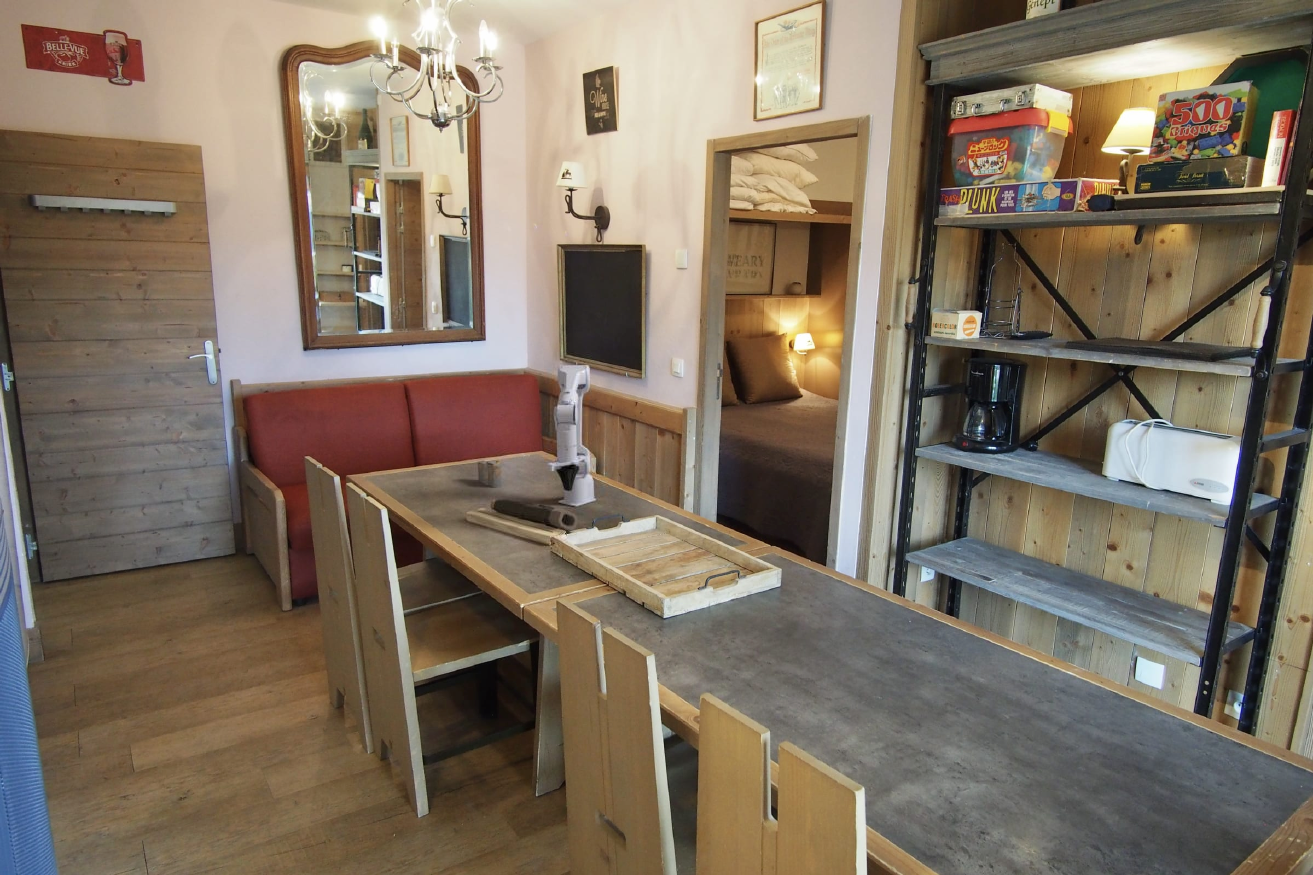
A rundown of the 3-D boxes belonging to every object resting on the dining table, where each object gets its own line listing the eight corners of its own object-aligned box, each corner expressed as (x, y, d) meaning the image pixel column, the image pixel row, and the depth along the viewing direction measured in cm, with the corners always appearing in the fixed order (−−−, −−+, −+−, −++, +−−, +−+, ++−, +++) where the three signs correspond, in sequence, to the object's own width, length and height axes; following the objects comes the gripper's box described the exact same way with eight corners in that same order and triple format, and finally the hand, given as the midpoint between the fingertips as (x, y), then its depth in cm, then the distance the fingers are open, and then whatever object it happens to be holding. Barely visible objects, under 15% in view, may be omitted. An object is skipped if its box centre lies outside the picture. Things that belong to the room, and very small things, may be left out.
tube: (517, 499, 252) (582, 509, 231) (514, 520, 251) (579, 532, 231) (488, 496, 244) (553, 506, 223) (485, 518, 243) (549, 530, 223)
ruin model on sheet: (502, 487, 281) (501, 460, 279) (494, 489, 279) (493, 461, 277) (486, 481, 289) (485, 454, 287) (478, 482, 287) (477, 456, 285)
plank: (482, 515, 247) (482, 507, 246) (566, 539, 225) (565, 530, 224) (466, 520, 242) (466, 512, 242) (550, 545, 220) (550, 536, 220)
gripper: (558, 451, 229) (559, 497, 232) (593, 442, 240) (594, 487, 243) (541, 448, 234) (542, 493, 236) (576, 439, 245) (577, 483, 247)
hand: (568, 490), depth 240 cm, fingers closed
